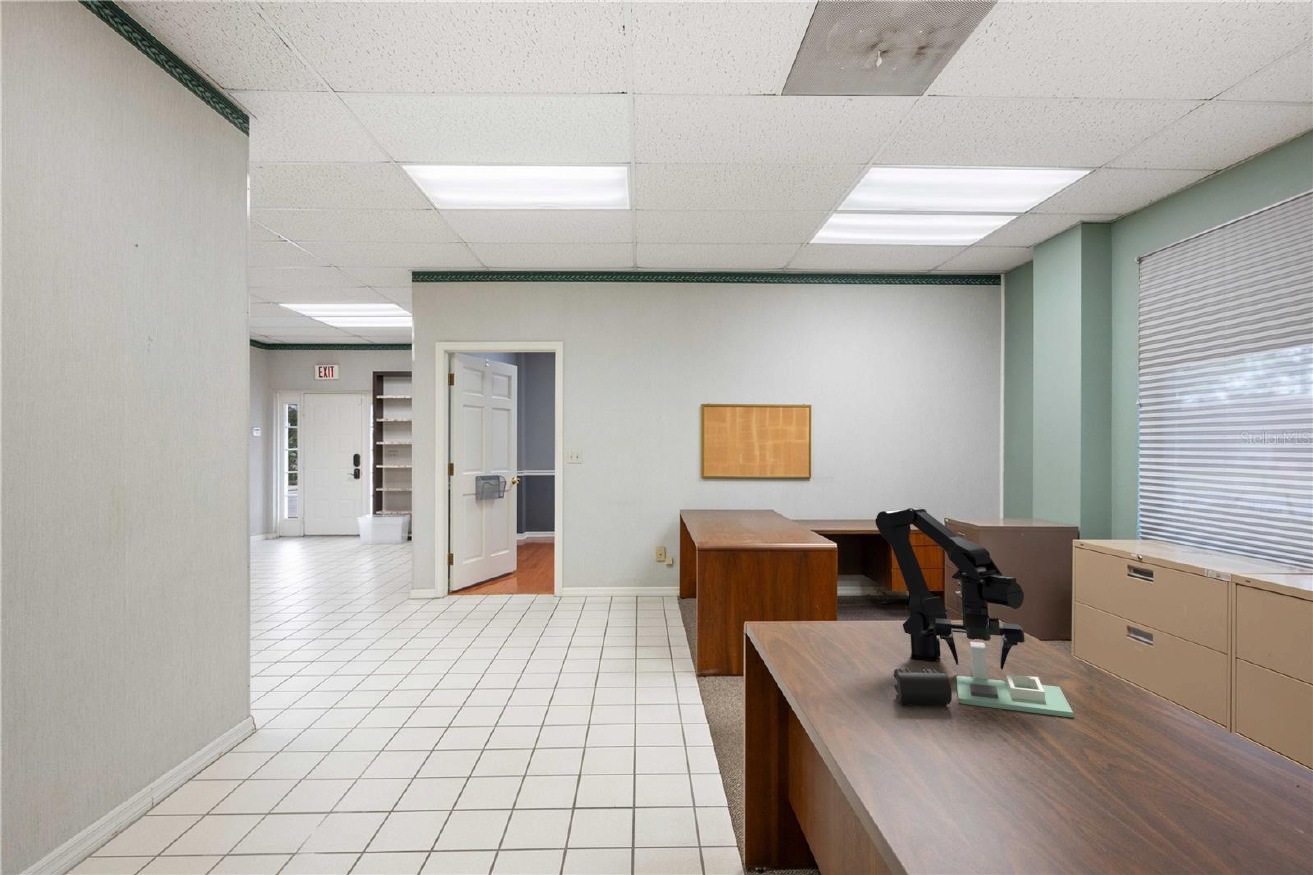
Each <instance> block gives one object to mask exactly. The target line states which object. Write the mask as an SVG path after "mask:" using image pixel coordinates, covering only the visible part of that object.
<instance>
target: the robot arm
mask: <svg viewBox="0 0 1313 875" xmlns="http://www.w3.org/2000/svg"><path fill="white" fill-rule="evenodd" d="M911 525H913V527H915V528H916V529H918V531H920V532H921V533H922V534H924V535H925V536H927V538H928V539H930V540H931V541H932V542H934V543H935V544H936V545H938V547H940V548H942V550H944V552H946V554H947V557H948V560H949V561H950V562H951V563H952V564H953V565H954V567H956V568H957V571H956V572H955V573H954V574H953V575H951V579H953V580H959V581H960V583H959V585H960V597H961V613H962V623H961V624H960V623H952V621H951V620H952V619H951V618H948V616H947V613H948V610H947V609H946V607H945V605H944V601H943V599H942V597H941V596H934V595H933V593H931V591H930V590H929V587H928V584H927V582H926V579H925V576H924V574H923V571H922V569H921V566H920V563H919V562H918V558H917V556H916V553H915V551H914V548H913V546H912V544H911V541H910V538H911V537H910V536H911V531H912V529H911ZM875 526H876V527H877V529H878V531H879V533H880V535H881V536H882V537H881V538H883V539H884V540H886V541H887V542H888V543H889V545H890V546H891V548H892V551H893V553H894V557H895V559H896V562H897V564H898V567H899V570H900V572H901V575H902V576H901V577H903V580H904V584H905V586H906V589H907V591H908V594H909V602H908V613H909V618H907V619H906V620H905V621H904V622H903V624H902V627H903V631H904V633H905V634H908V635H909V636H910V649H911V650H910V651H911V652H910V658H911V659H913V660H914V659H915V660H923V661H931V662H932V661H933V662H939V660H940V657H941V643H940V642H941V640H944V641H945V643H947V645H948V647H949V649H950V653H951V654H952V657H953V659H954V662H955V665H956V666H958V665H959V656H958V651H957V647H956V646H957V645H956V642H955V641H956V640H955V637H954V633H962V634H966V638H967V639H969V640H972V641H974V640H981V641H984V642H989V641H991V639H992V638H991V637H992V636H998V637H999V636H1000V649H999V650H1000V651H999V652H1000V653H999V666H1000V667H999V668H1000V670H1003V669H1004V667H1005V664H1006V661H1007V657H1008V655H1009V652H1010V650H1011V648H1013V646H1018V645H1019V643H1022V644H1023V643H1025V642H1026V641H1025V632H1024V630H1023V628H1022V626H1021V625H1020V624H1017V623H1003V622H1001V626H1000V618H996V617H991V616H990V604H991V605H994V606H1000V607H1005V608H1009V609H1012V610H1013V609H1014V610H1018V609H1019V608H1021V606H1022V605H1023V602H1024V598H1025V594H1024V591H1023V589H1022V586H1021V585H1020V583H1017V578H1016V577H1013V576H1003V574H1002V572H1001V570H1000V569H999V568H998V566H997V565H996V563H995V562H994V560H993V559H992V558H991V554H990V552H989V550H987V549H986V548H985V547H984V546H981V545H979V544H977V543H976V542H974V541H970V540H968V539H965V538H962V537H960V536H958V535H957V534H956V533H955V532H954V531H952V530H951V529H950V528H949V527H947V526H946V525H944V524H943V523H942V522H940V521H939V520H937V519H936V518H935V517H933V515H931V514H930V513H928V512H927V510H926V509H925V508H923V507H917V506H916V507H909V508H907V509H904V510H903V509H902V510H900V509H894V510H892V509H891V510H882V511H879V512H878V513H877V515H876V518H875Z"/></svg>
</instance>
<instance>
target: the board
mask: <svg viewBox="0 0 1313 875" xmlns="http://www.w3.org/2000/svg"><path fill="white" fill-rule="evenodd" d="M1005 675H1006V680H999V679H990V678H988V679H983V678H974V677H973V676H964V675H962V676H961V675H956V685H957V686H956V687H957V698H958V704H962V705H963V704H964V705H970V706H980V707H986V708H987V707H988V708H995V709H1000V710H1001V709H1003V710H1010V711H1019V712H1026V713H1034V714H1041V715H1048V716H1049V715H1050V716H1057V717H1058V716H1059V717H1063V718H1064V717H1066V718H1074V712H1073V709H1072V708H1071V706H1070V704H1069V702H1068V700H1067V699H1066V696H1065V695H1064V693H1063V691H1062V689H1061V687H1060V686H1056V685H1045V684H1042V683H1041V681H1040V678H1039V676H1029V675H1022V674H1021V675H1020V674H1011V673H1005Z"/></svg>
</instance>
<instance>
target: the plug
mask: <svg viewBox="0 0 1313 875" xmlns="http://www.w3.org/2000/svg"><path fill="white" fill-rule="evenodd" d="M969 643H970V644H969V645H970V660H971V673H972V674H971V675H972V677H974V678H983V679H989V675H988V664H987V663H988V661H987V648H986V645H985V643H984V642H979V641H977V642H976V641H969Z"/></svg>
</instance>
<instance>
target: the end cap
mask: <svg viewBox="0 0 1313 875" xmlns="http://www.w3.org/2000/svg"><path fill="white" fill-rule="evenodd" d="M921 671H922V672H912V671H910V669H908V668H896V669H894V670H893V677H894V679H895V681H896V683H894V685H893V687H894V691H896V694H895V697H896V700H897V701H898V703H899V704H900V705H901V706H921V707H923V706H927V707H931V706H932V707H947V706H948V705H949V704H950V703H951V702H952V699H953V694H952V686H951V681H950V678H949V677H948V675H947V673H946V672H939V671H938V670H936V669H934V668H931V669H927V668H924V669H923V668H922V670H921Z"/></svg>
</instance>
